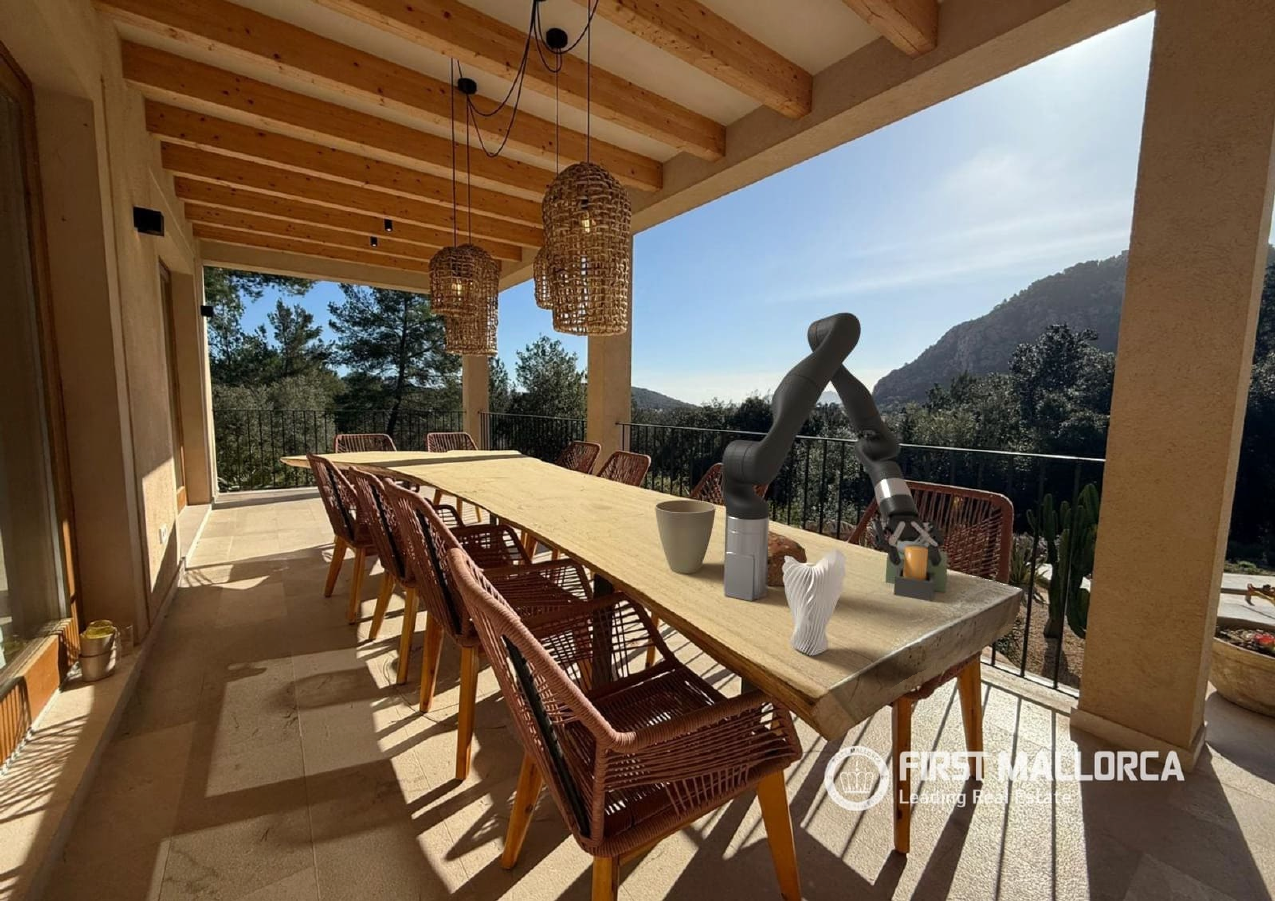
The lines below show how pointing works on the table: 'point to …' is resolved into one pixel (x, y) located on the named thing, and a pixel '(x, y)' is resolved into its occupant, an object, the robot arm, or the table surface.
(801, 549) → the bread
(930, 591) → the green two-tone box
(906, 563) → the amber pillar candle
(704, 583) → the table surface
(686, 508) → the plant pot
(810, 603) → the white ribbed vase
